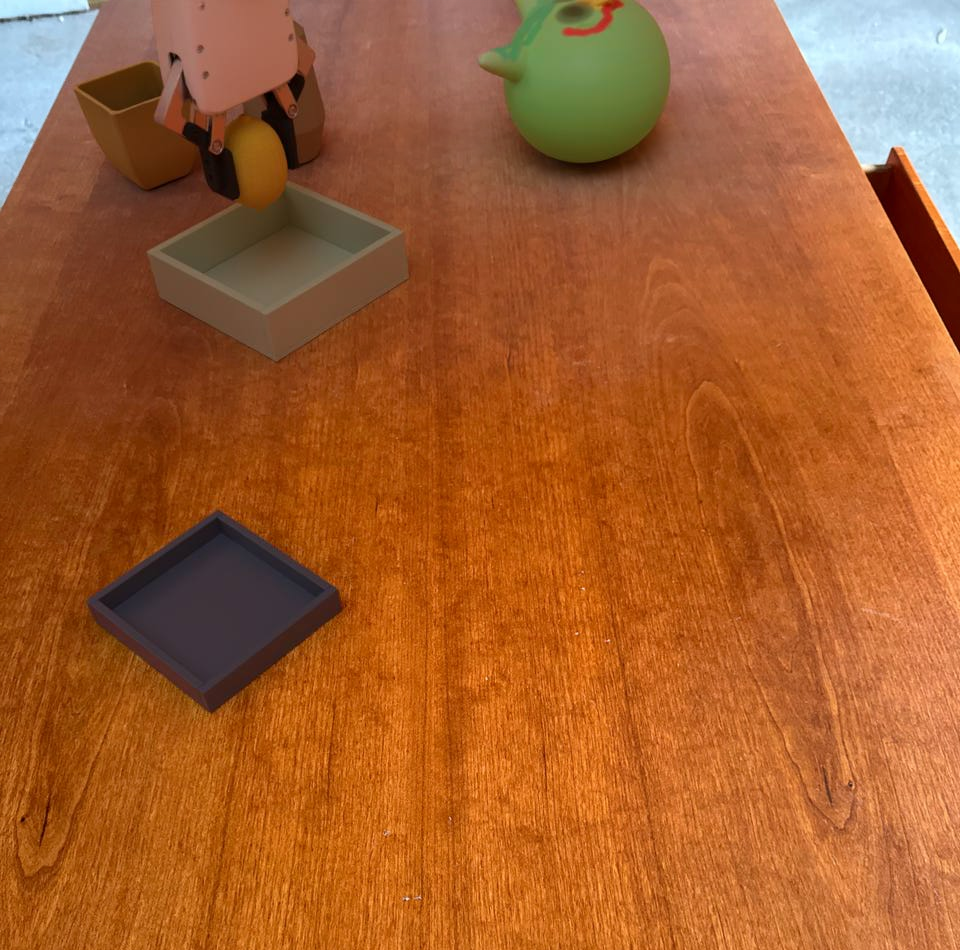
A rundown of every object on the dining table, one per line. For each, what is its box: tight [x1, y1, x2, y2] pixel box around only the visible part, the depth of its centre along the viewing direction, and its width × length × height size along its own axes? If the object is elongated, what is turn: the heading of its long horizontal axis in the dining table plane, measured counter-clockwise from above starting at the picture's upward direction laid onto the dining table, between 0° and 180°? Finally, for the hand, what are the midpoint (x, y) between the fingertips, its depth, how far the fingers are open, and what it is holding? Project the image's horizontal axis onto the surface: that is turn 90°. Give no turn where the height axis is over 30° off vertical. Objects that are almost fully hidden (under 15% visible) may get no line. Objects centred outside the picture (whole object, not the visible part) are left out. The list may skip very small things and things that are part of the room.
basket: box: [146, 179, 410, 363], centre depth 102 cm, size 16×16×4 cm
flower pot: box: [71, 58, 199, 191], centre depth 115 cm, size 9×9×9 cm
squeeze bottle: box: [242, 2, 326, 165], centre depth 113 cm, size 8×8×18 cm
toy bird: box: [477, 0, 671, 164], centre depth 112 cm, size 18×17×15 cm
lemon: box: [224, 113, 289, 212], centre depth 95 cm, size 6×6×8 cm
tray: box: [85, 508, 343, 714], centre depth 77 cm, size 12×11×2 cm
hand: (254, 177), depth 96 cm, fingers closed on lemon, 5 cm apart
